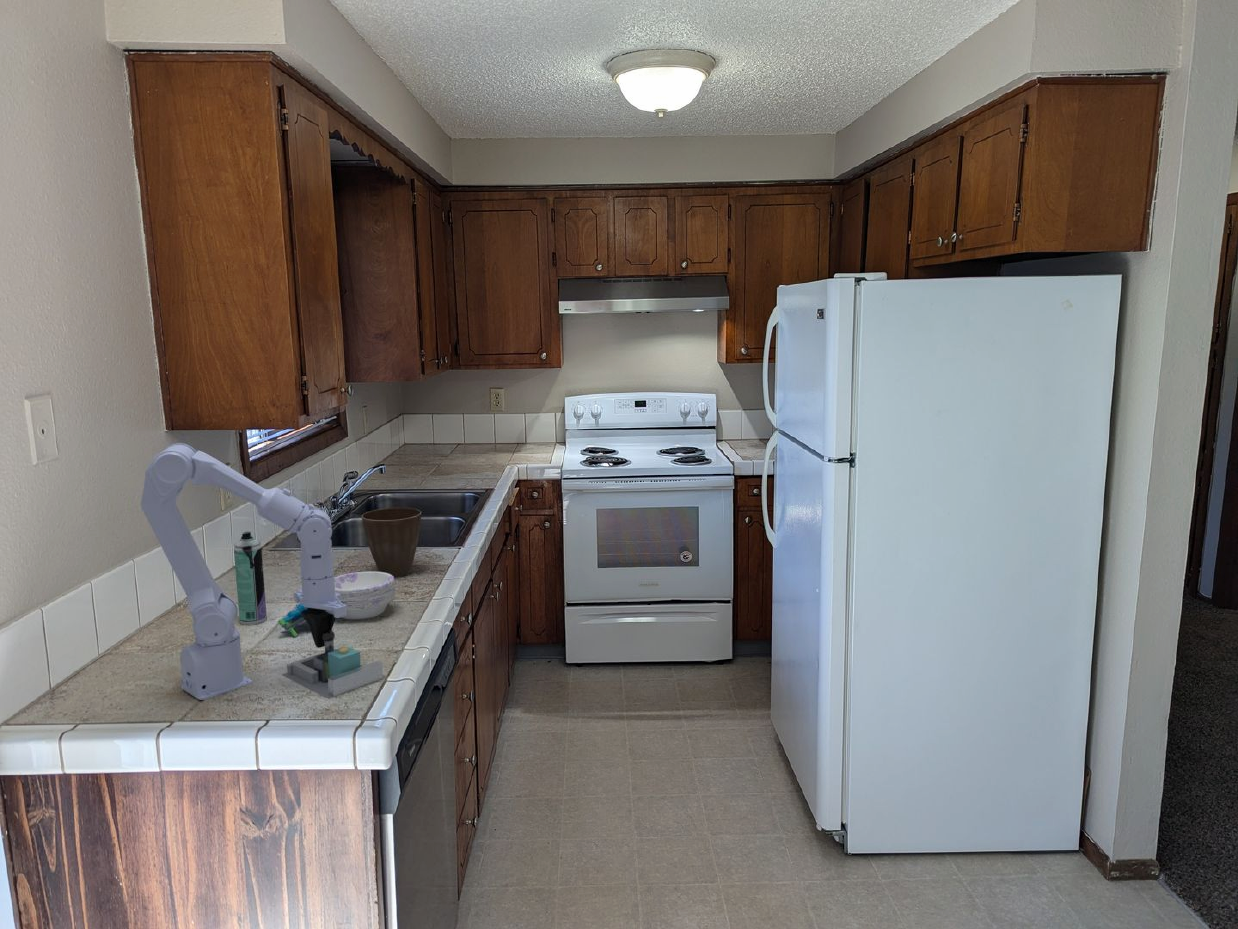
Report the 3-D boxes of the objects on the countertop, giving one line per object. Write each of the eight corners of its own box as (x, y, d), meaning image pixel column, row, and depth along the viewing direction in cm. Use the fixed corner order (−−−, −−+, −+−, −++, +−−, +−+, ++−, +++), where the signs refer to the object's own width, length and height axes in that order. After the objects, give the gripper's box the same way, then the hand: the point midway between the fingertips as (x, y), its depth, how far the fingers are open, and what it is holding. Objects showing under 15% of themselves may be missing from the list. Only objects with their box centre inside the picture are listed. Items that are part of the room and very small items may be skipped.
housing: (341, 687, 150) (339, 654, 149) (329, 681, 153) (327, 648, 152) (361, 680, 153) (359, 647, 152) (349, 674, 156) (347, 642, 155)
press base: (328, 700, 146) (327, 682, 146) (281, 676, 156) (280, 659, 156) (387, 678, 155) (386, 661, 155) (339, 656, 165) (338, 640, 165)
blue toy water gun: (310, 610, 187) (326, 586, 181) (326, 631, 186) (343, 607, 180) (267, 632, 178) (283, 607, 172) (284, 654, 177) (300, 630, 171)
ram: (324, 682, 152) (321, 638, 151) (312, 676, 155) (310, 633, 153) (353, 672, 157) (351, 629, 155) (341, 666, 159) (339, 624, 158)
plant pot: (363, 584, 211) (359, 521, 208) (366, 567, 225) (363, 509, 223) (424, 579, 214) (421, 518, 212) (423, 563, 229) (421, 506, 226)
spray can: (271, 620, 185) (264, 532, 182) (246, 627, 181) (239, 536, 178) (260, 614, 189) (253, 528, 186) (235, 621, 185) (228, 532, 182)
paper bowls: (347, 600, 199) (345, 568, 197) (407, 604, 196) (406, 571, 194) (311, 622, 184) (309, 587, 183) (376, 627, 181) (374, 592, 180)
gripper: (359, 578, 153) (363, 648, 156) (316, 563, 162) (320, 630, 165) (324, 587, 148) (328, 660, 150) (281, 571, 157) (286, 641, 159)
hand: (322, 645), depth 157 cm, fingers closed
